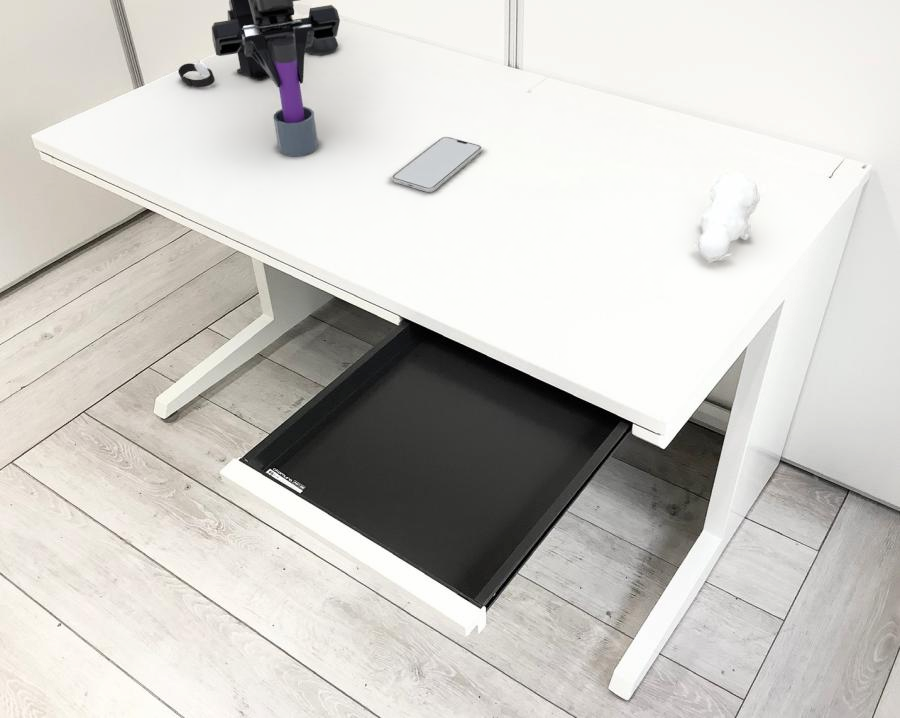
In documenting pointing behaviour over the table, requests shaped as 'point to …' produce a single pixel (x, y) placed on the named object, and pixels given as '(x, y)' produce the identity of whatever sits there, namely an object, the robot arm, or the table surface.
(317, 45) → the computer mouse
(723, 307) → the table surface
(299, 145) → the pen holder
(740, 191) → the white animal figurine
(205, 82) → the watch
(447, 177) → the smartphone
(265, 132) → the table surface
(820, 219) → the table surface
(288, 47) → the glue stick
